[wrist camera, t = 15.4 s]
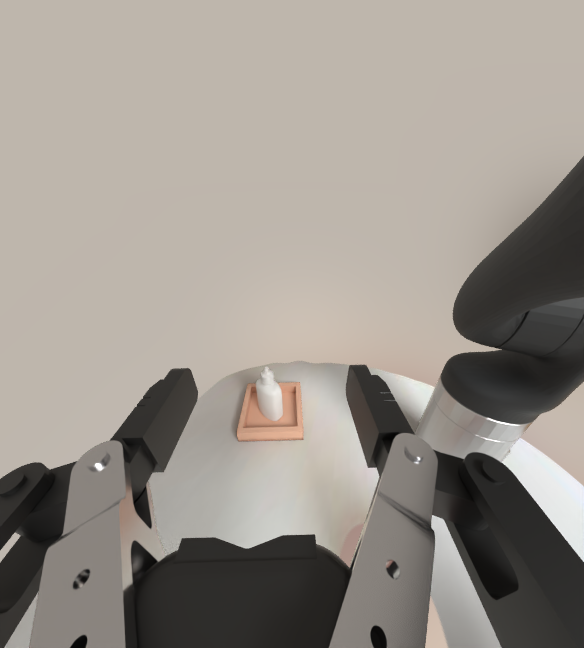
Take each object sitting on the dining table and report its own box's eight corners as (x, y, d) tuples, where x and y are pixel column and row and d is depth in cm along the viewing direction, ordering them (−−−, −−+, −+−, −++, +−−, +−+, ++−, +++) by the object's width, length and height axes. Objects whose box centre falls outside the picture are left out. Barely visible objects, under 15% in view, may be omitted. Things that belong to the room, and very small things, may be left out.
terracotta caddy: (300, 390, 49) (300, 382, 48) (303, 439, 39) (303, 431, 37) (249, 391, 49) (247, 383, 48) (238, 441, 38) (236, 433, 37)
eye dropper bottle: (277, 398, 46) (274, 355, 40) (284, 419, 42) (282, 374, 36) (257, 403, 45) (251, 360, 39) (263, 426, 40) (257, 381, 35)
